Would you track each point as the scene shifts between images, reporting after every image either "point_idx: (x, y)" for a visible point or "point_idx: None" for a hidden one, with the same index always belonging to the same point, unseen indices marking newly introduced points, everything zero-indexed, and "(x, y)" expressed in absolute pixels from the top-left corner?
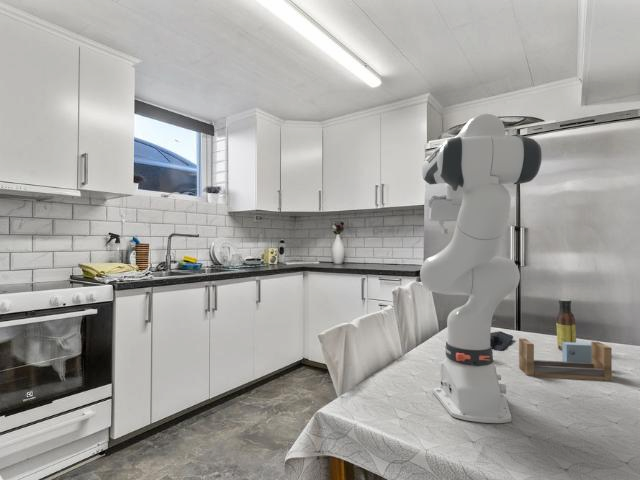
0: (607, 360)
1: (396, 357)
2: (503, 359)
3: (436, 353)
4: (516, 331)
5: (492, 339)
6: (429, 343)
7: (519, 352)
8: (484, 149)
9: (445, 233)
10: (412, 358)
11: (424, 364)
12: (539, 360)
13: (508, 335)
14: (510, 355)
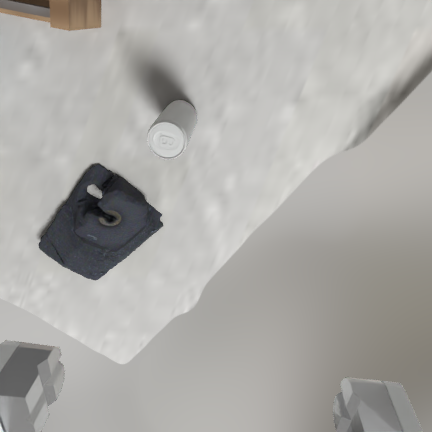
0: None
1: (385, 116)
2: (116, 96)
3: (267, 146)
4: (14, 302)
5: (104, 193)
6: (252, 224)
7: (85, 24)
8: None
9: (368, 380)
10: (346, 107)
11: (335, 57)
12: (43, 14)
13: (48, 244)
14: (87, 128)
